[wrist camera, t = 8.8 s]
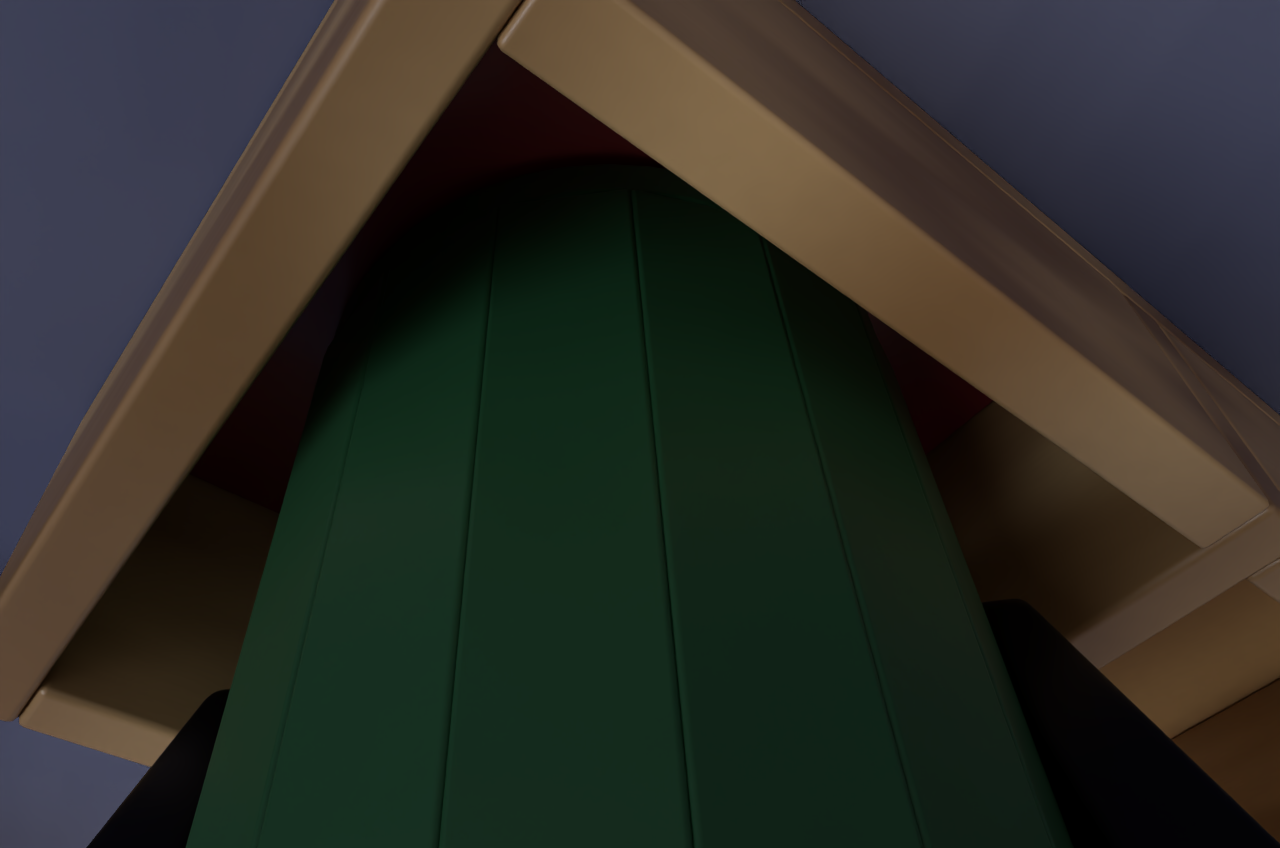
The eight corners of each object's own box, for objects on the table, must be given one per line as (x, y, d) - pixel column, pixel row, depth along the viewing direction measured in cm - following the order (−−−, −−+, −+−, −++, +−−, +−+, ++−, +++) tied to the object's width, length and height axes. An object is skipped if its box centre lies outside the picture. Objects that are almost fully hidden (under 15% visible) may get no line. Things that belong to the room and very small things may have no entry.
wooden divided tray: (1454, 563, 16) (1661, 809, 13) (991, 826, 20) (1067, 1057, 17) (491, -261, 9) (455, -137, 6) (80, 422, 13) (-66, 704, 10)
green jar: (992, 362, 12) (1756, 1908, 4) (648, 647, 15) (738, 1867, 7) (540, 32, 9) (427, 2498, 2) (230, 455, 12) (-329, 2057, 5)
